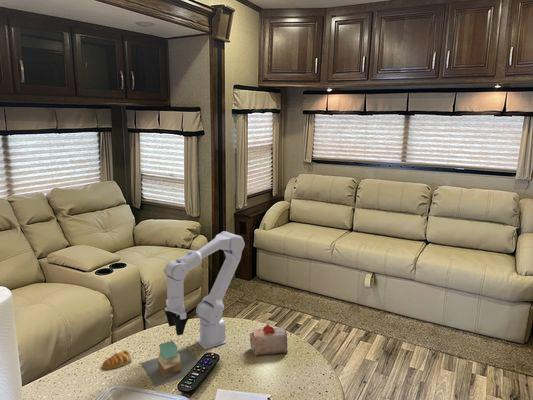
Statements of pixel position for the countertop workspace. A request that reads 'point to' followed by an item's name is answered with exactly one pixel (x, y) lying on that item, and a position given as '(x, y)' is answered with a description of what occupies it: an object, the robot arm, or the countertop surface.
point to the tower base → (169, 370)
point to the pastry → (117, 360)
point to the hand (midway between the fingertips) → (176, 330)
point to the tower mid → (169, 361)
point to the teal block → (168, 350)
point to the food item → (268, 341)
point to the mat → (157, 378)
